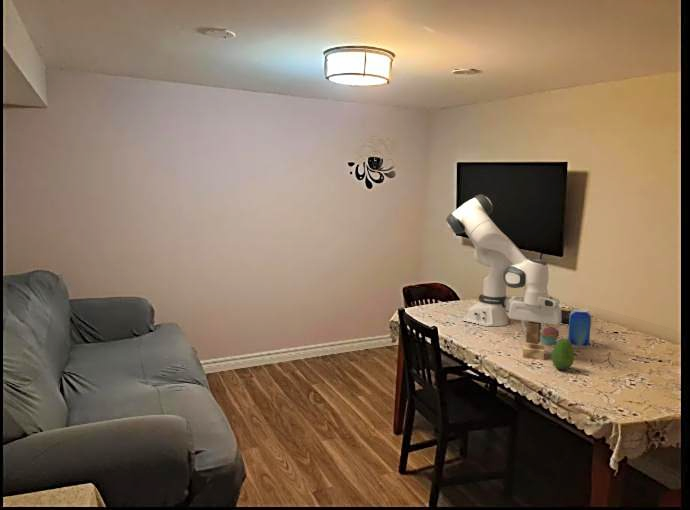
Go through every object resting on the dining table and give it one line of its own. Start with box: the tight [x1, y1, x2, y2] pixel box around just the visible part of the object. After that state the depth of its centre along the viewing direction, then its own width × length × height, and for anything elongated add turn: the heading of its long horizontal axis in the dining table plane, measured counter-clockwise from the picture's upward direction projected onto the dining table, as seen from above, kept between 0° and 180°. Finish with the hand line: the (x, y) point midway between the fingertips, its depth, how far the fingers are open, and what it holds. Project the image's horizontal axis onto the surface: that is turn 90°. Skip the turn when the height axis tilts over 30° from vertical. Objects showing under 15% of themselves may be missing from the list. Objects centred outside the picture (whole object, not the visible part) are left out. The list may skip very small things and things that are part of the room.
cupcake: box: [540, 324, 560, 345], centre depth 232 cm, size 9×8×12 cm
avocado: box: [551, 338, 575, 371], centre depth 199 cm, size 8×8×12 cm
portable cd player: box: [561, 309, 572, 326], centre depth 268 cm, size 16×17×4 cm
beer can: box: [567, 307, 592, 349], centre depth 227 cm, size 8×8×16 cm
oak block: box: [522, 342, 545, 361], centre depth 215 cm, size 8×8×4 cm
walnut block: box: [525, 321, 542, 345], centre depth 213 cm, size 4×4×8 cm
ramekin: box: [506, 295, 524, 312], centre depth 289 cm, size 13×13×7 cm
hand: (533, 332), depth 213 cm, fingers closed on walnut block, 4 cm apart
